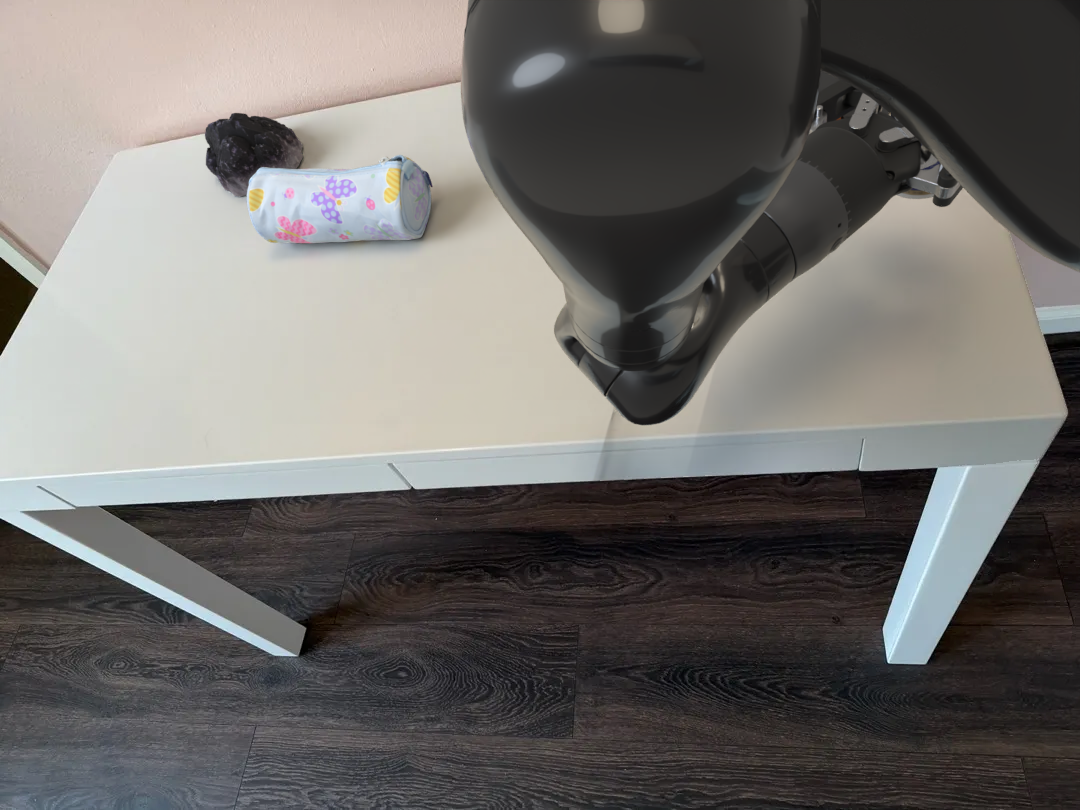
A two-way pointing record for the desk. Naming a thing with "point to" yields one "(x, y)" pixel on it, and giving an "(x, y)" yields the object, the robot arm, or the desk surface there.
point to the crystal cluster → (249, 149)
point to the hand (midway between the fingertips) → (955, 81)
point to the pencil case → (341, 203)
